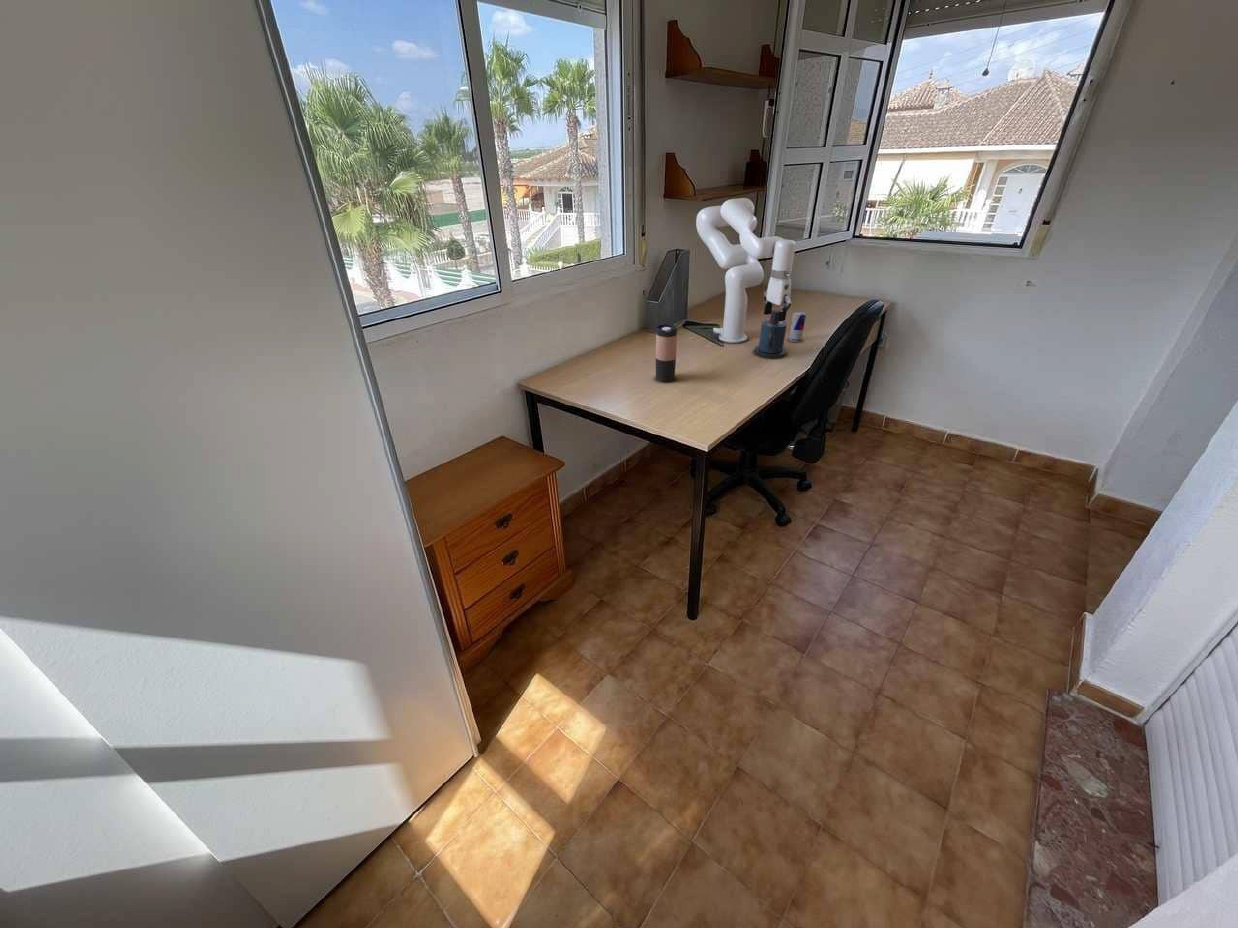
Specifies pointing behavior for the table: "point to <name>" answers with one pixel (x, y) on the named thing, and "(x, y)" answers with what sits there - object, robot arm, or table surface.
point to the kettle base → (769, 355)
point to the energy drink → (797, 326)
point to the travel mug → (666, 352)
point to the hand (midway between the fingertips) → (774, 317)
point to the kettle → (772, 334)
